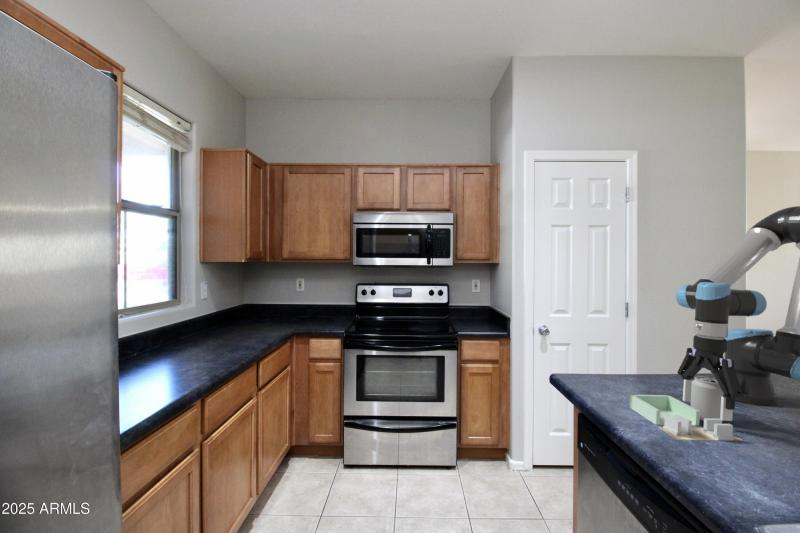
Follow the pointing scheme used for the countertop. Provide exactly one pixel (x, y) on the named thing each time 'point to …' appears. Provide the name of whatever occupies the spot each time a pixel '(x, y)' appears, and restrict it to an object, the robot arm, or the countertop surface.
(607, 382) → the countertop surface
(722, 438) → the clip
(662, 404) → the green open box
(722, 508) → the countertop surface
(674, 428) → the clip
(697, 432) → the board
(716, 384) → the can
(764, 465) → the countertop surface
